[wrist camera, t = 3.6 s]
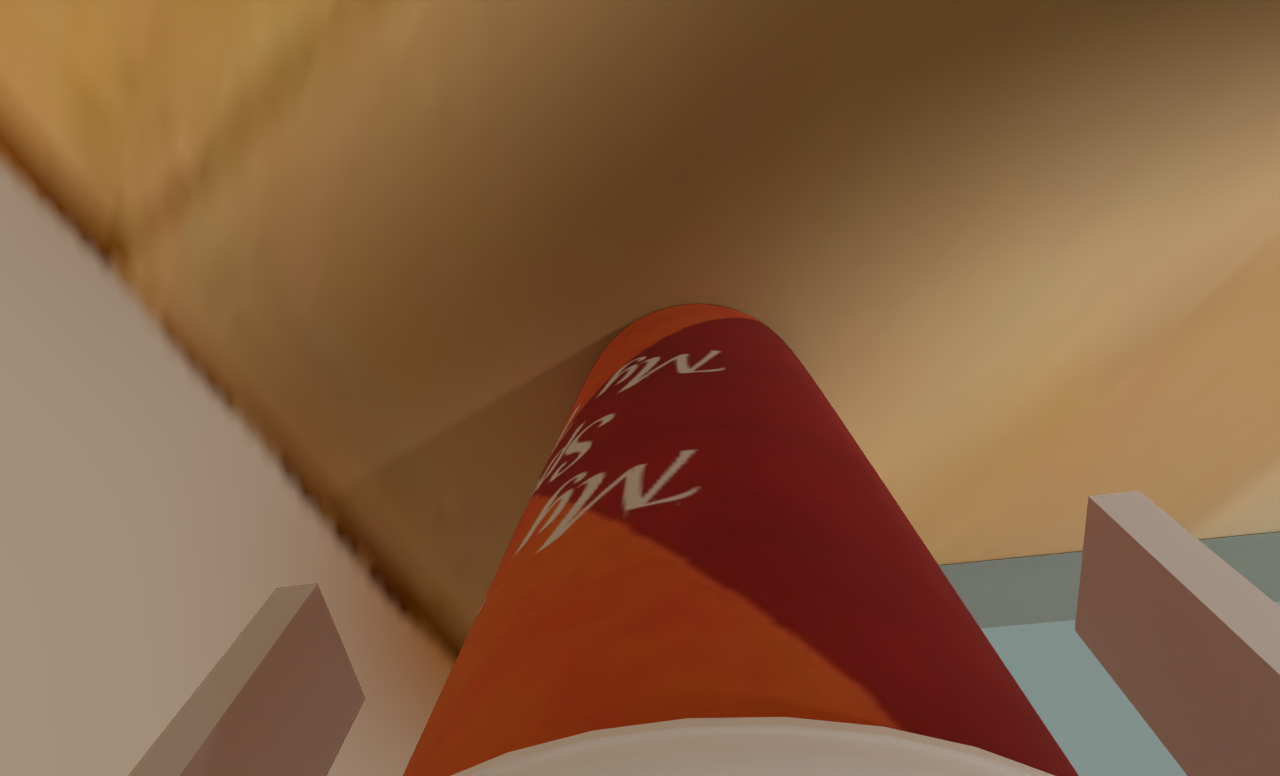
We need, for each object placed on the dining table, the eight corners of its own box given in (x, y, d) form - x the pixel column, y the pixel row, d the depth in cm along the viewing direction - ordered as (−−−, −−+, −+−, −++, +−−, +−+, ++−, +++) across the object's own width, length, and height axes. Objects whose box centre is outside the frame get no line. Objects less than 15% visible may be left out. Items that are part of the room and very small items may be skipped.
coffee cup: (594, 211, 17) (223, 792, 3) (905, 318, 17) (1805, 1196, 4) (510, 490, 20) (146, 1390, 6) (775, 571, 21) (980, 1536, 7)
